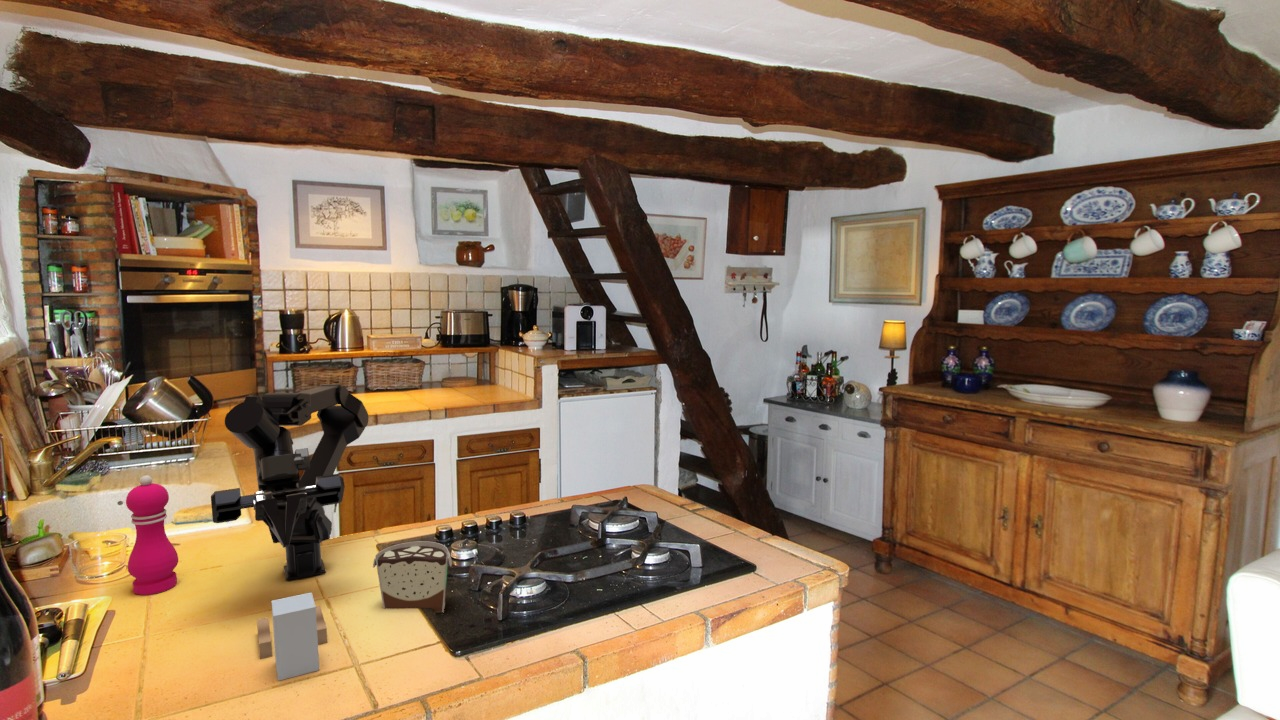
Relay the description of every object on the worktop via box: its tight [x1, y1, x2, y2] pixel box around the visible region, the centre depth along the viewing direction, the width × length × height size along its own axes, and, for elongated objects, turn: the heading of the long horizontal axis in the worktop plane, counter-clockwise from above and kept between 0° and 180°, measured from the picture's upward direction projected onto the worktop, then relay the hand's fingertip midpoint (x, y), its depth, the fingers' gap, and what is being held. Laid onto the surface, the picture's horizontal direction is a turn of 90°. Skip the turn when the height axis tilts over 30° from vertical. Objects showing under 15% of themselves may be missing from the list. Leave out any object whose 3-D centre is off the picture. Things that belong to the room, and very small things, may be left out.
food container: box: [372, 540, 453, 614], centre depth 115 cm, size 12×6×10 cm, turn 92°
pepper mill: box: [125, 474, 179, 596], centre depth 121 cm, size 7×7×20 cm
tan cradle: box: [256, 605, 328, 660], centre depth 100 cm, size 15×9×3 cm, turn 30°
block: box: [270, 592, 320, 682], centre depth 95 cm, size 5×5×9 cm
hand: (286, 546), depth 108 cm, fingers closed
